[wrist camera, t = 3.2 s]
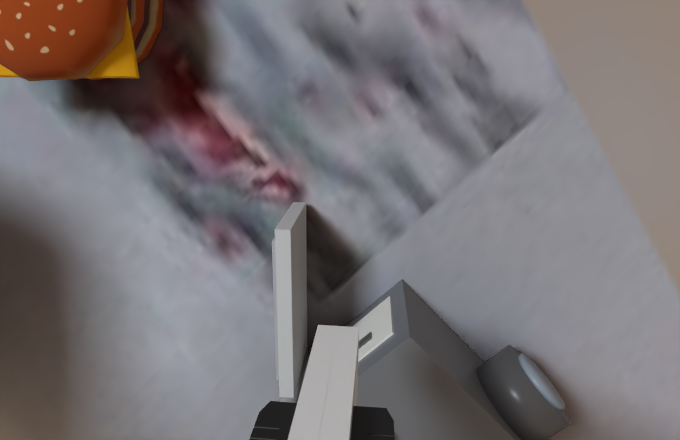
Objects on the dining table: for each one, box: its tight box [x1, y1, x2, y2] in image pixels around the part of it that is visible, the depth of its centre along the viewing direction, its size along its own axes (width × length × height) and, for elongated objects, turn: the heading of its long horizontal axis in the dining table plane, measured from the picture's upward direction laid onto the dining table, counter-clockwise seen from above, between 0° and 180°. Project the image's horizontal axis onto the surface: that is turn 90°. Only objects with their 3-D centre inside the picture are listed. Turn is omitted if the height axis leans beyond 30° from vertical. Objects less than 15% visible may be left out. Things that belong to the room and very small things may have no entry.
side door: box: [272, 202, 309, 403], centre depth 27 cm, size 1×11×6 cm, turn 179°
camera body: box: [296, 280, 571, 440], centre depth 28 cm, size 14×12×8 cm
